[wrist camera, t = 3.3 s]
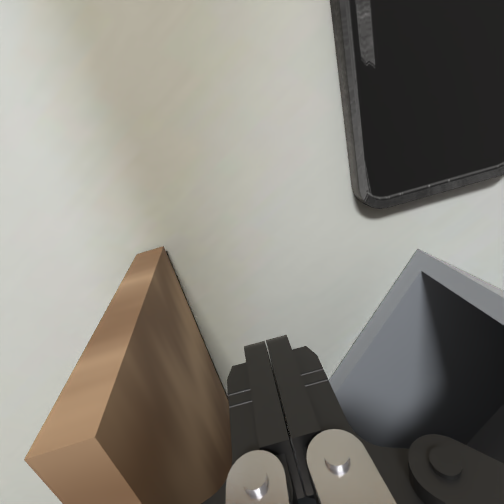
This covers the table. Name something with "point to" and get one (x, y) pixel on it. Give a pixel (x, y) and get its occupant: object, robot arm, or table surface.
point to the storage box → (428, 363)
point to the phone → (420, 95)
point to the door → (139, 404)
